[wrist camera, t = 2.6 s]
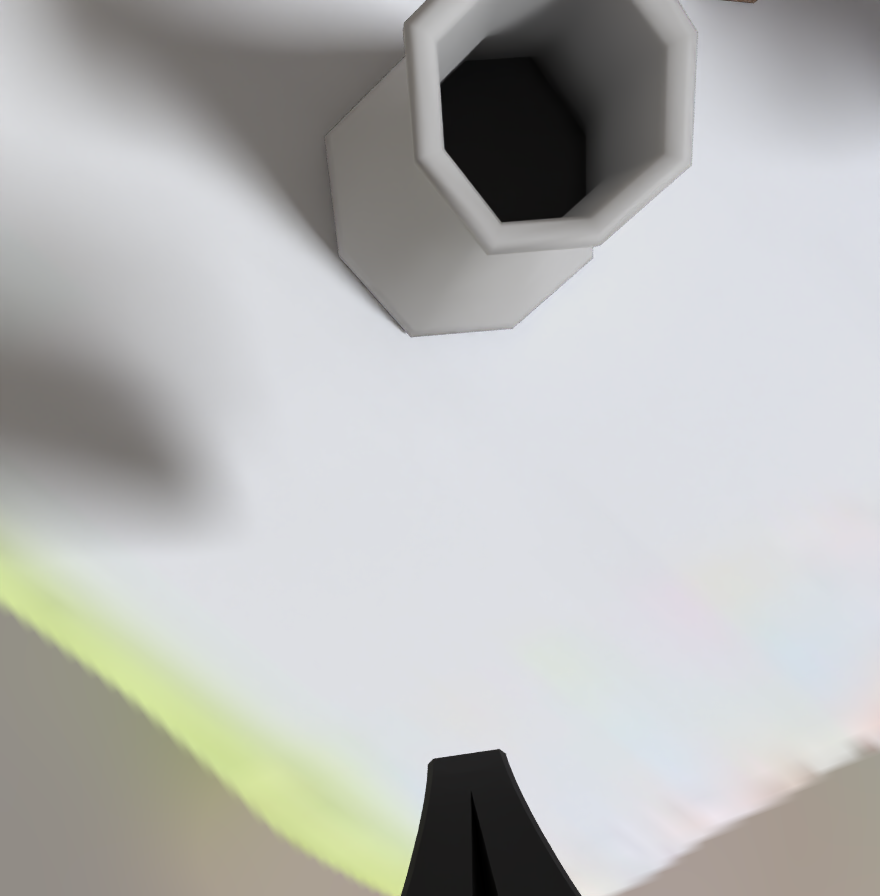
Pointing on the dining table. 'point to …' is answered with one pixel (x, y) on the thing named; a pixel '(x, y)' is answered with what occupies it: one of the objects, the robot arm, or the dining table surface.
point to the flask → (508, 152)
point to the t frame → (748, 0)
